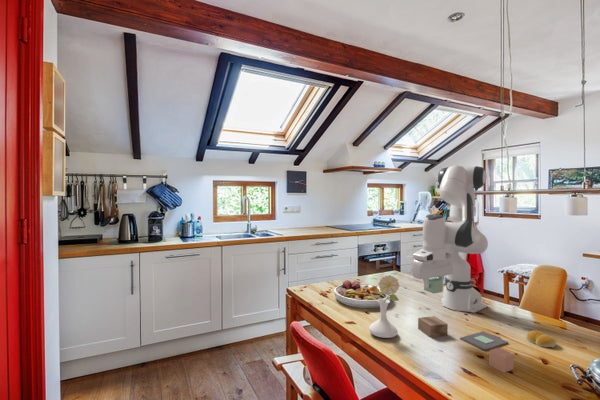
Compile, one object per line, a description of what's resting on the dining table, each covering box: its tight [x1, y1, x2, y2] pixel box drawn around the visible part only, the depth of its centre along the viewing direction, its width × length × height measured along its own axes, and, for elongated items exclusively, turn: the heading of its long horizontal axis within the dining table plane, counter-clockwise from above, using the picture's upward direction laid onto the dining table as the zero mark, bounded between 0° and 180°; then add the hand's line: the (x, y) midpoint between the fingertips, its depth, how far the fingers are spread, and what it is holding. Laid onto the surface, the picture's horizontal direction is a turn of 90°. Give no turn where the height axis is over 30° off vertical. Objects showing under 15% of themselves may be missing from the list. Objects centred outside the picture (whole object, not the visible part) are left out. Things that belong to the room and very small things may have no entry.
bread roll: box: [525, 329, 557, 349], centre depth 118 cm, size 8×9×4 cm
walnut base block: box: [417, 315, 449, 338], centre depth 126 cm, size 8×8×5 cm
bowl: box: [333, 279, 391, 309], centre depth 165 cm, size 30×30×8 cm
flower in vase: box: [368, 274, 401, 339], centre depth 123 cm, size 13×11×25 cm
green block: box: [423, 277, 444, 295], centre depth 126 cm, size 5×5×5 cm
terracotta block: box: [488, 346, 515, 374], centre depth 101 cm, size 5×5×5 cm
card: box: [459, 331, 509, 352], centre depth 119 cm, size 14×10×1 cm
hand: (433, 287), depth 126 cm, fingers closed on green block, 5 cm apart
